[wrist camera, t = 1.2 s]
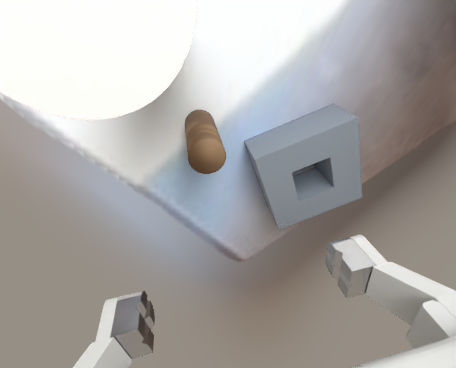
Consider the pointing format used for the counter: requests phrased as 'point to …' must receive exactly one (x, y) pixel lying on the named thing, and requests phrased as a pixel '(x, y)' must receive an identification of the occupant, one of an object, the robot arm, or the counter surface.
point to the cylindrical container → (92, 53)
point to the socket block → (304, 156)
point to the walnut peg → (204, 143)
